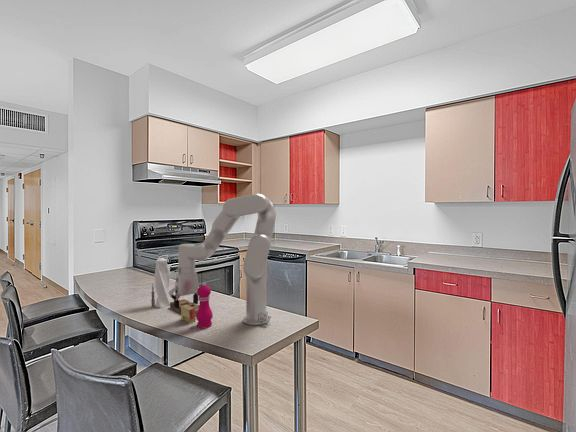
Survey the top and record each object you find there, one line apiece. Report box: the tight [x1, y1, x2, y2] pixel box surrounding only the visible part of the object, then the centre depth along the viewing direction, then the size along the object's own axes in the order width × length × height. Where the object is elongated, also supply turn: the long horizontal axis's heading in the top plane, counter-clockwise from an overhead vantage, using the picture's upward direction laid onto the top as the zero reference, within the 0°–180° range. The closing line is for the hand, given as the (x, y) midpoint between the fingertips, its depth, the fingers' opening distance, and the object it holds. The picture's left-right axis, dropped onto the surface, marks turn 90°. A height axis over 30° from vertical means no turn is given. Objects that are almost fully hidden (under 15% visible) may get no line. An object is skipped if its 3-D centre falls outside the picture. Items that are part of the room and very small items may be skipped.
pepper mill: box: [195, 282, 213, 329], centre depth 140 cm, size 7×7×20 cm
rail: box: [169, 298, 200, 318], centre depth 160 cm, size 22×8×3 cm, turn 48°
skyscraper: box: [150, 254, 171, 310], centre depth 168 cm, size 8×8×28 cm
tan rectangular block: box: [180, 305, 196, 325], centre depth 146 cm, size 8×3×7 cm, turn 48°
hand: (186, 305), depth 146 cm, fingers open, 9 cm apart
